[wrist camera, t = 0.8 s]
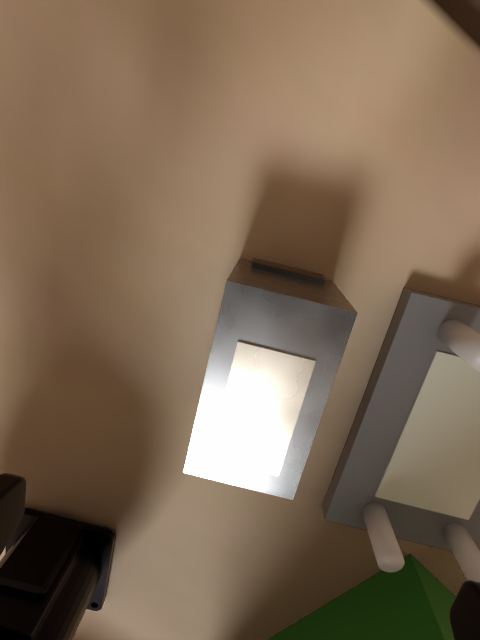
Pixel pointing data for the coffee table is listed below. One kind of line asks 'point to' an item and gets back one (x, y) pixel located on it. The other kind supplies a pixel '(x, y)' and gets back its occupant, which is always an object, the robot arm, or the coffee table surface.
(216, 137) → the coffee table surface
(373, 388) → the panel with knobs
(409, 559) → the hardback book
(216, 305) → the coffee table surface
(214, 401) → the drive
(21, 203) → the coffee table surface
